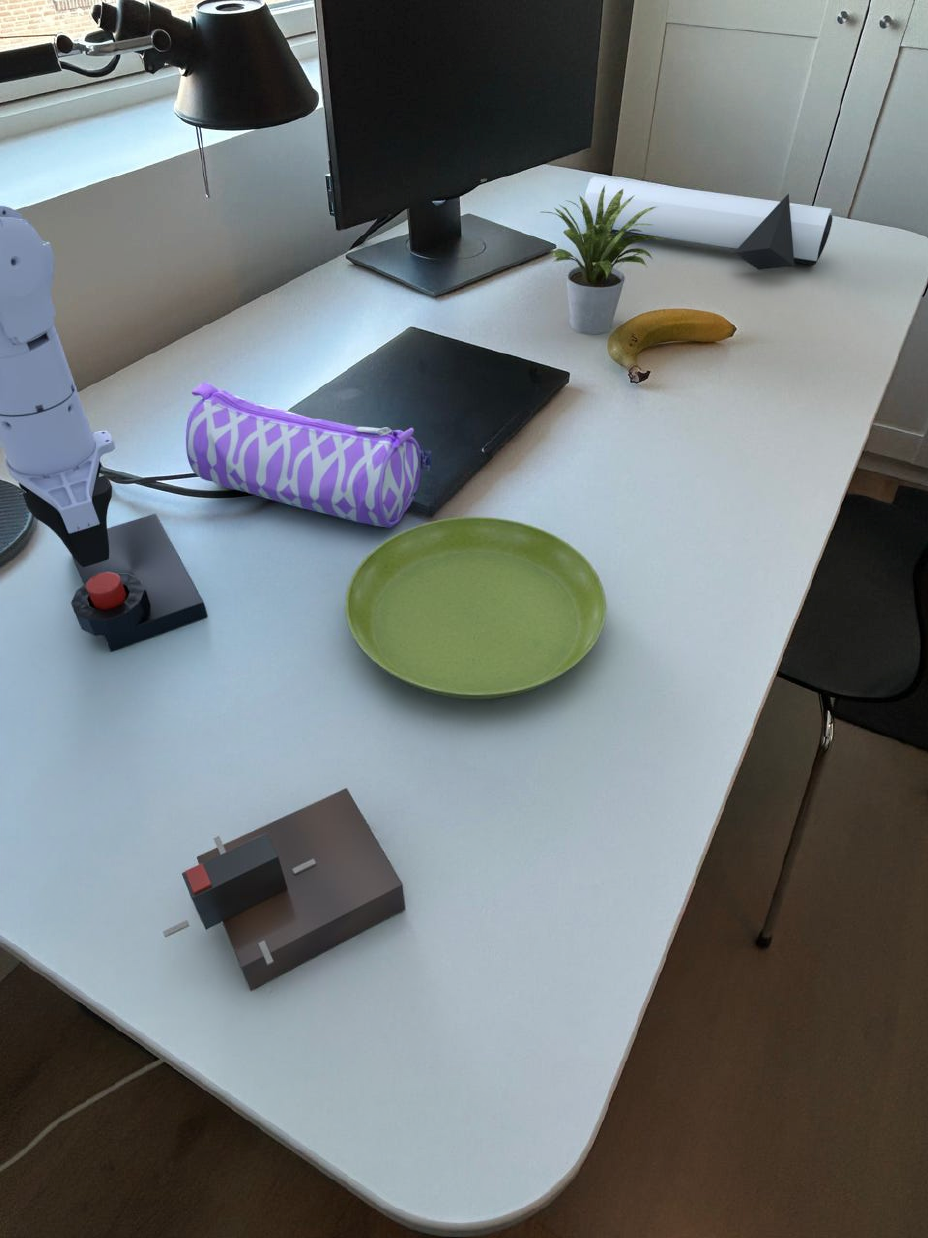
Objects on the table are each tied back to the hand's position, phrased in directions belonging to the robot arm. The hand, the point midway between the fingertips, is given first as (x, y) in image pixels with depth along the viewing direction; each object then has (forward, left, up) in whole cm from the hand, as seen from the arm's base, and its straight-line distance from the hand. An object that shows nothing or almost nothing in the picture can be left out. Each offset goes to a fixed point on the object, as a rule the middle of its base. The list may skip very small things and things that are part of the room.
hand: (92, 554), depth 67 cm
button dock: (+3, +4, -8) cm, 9 cm away
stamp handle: (0, -30, -5) cm, 30 cm away
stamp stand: (+2, -30, -8) cm, 31 cm away
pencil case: (+20, +9, -8) cm, 24 cm away
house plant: (+64, +24, -8) cm, 69 cm away
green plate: (+25, -15, -8) cm, 30 cm away
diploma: (+91, +35, -8) cm, 98 cm away
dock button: (0, 0, -5) cm, 5 cm away
